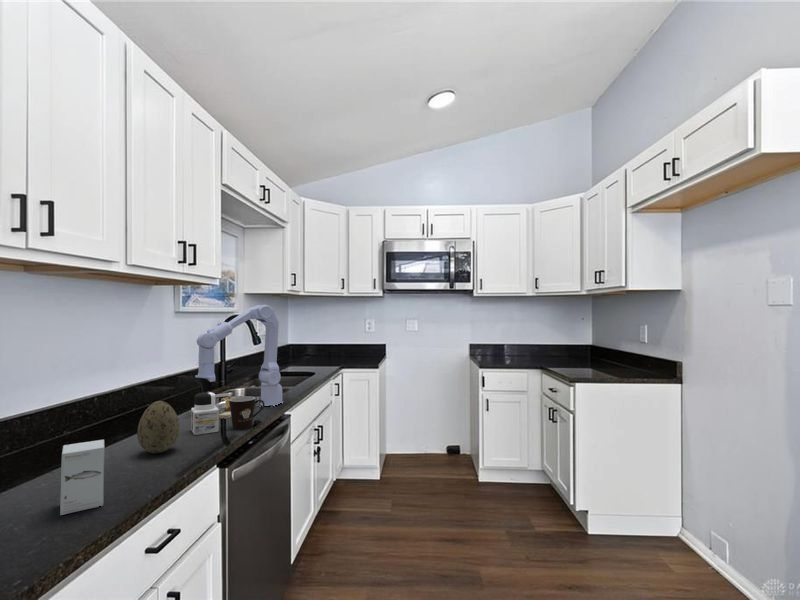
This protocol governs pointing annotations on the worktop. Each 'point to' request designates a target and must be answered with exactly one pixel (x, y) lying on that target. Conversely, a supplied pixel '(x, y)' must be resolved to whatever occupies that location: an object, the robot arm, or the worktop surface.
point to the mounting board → (225, 414)
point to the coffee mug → (243, 412)
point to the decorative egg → (158, 427)
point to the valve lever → (224, 394)
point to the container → (204, 414)
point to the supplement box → (82, 476)
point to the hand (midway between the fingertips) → (206, 397)
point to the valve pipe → (224, 404)
